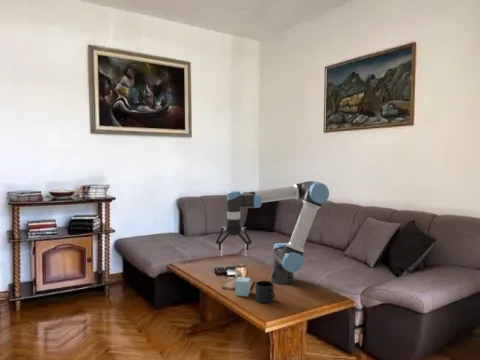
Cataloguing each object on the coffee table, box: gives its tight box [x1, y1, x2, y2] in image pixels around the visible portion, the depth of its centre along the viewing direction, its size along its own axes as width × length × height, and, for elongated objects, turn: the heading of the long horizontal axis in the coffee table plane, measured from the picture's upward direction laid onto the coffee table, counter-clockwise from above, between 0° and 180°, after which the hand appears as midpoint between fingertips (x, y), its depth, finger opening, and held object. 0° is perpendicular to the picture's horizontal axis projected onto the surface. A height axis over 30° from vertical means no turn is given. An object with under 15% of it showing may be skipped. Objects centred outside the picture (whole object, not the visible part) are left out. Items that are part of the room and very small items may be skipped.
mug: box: [255, 280, 276, 304], centre depth 197 cm, size 9×12×9 cm
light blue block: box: [234, 277, 251, 297], centre depth 208 cm, size 7×7×9 cm
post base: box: [221, 272, 255, 291], centre depth 221 cm, size 16×16×7 cm
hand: (233, 255), depth 211 cm, fingers open, 13 cm apart
